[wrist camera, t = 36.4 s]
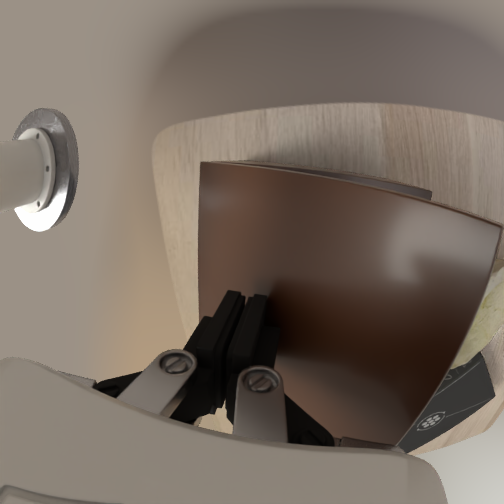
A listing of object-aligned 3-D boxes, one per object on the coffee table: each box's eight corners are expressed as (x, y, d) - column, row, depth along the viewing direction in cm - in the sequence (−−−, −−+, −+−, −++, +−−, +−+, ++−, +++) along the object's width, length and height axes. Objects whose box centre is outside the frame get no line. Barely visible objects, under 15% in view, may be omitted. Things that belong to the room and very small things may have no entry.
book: (473, 342, 27) (482, 355, 24) (489, 385, 28) (495, 396, 26) (353, 421, 34) (354, 436, 31) (390, 448, 36) (392, 460, 33)
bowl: (446, 355, 28) (472, 406, 19) (388, 304, 27) (416, 363, 18) (516, 273, 22) (558, 308, 13) (471, 201, 22) (529, 224, 12)
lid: (504, 224, 4) (503, 226, 4) (353, 490, 8) (341, 499, 8) (212, 161, 15) (200, 161, 15) (209, 341, 19) (199, 344, 19)
